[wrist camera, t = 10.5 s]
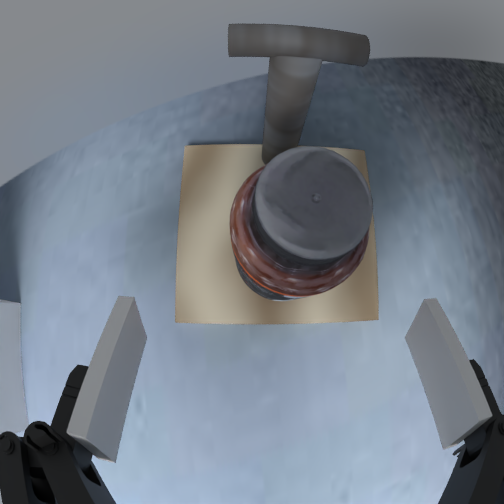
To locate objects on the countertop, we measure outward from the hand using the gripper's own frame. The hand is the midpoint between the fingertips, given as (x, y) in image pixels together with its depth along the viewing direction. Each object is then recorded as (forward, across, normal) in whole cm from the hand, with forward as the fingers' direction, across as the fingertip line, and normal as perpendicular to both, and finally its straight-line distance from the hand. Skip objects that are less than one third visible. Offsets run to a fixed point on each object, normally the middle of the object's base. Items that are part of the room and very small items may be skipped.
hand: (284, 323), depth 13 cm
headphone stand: (+10, 0, -1) cm, 10 cm away
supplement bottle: (+8, 0, -2) cm, 8 cm away
